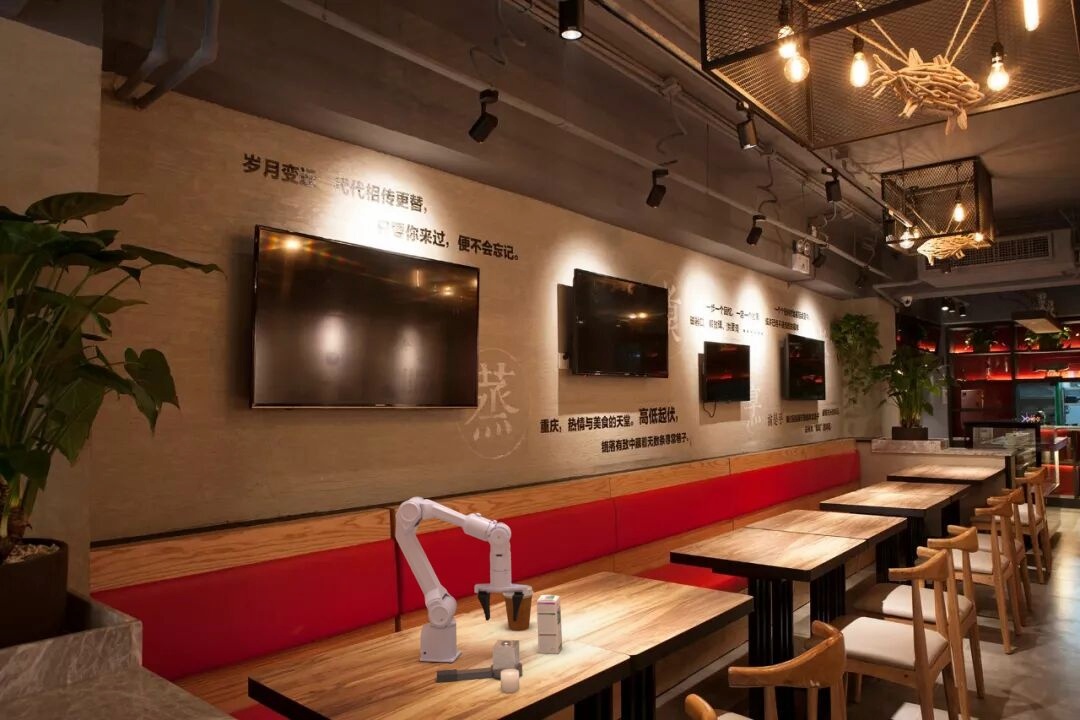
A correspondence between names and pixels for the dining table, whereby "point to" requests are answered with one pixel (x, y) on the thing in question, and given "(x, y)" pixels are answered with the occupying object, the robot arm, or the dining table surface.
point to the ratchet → (471, 674)
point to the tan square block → (506, 654)
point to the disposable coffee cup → (523, 611)
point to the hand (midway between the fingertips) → (501, 619)
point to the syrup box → (549, 624)
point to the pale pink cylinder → (509, 680)
